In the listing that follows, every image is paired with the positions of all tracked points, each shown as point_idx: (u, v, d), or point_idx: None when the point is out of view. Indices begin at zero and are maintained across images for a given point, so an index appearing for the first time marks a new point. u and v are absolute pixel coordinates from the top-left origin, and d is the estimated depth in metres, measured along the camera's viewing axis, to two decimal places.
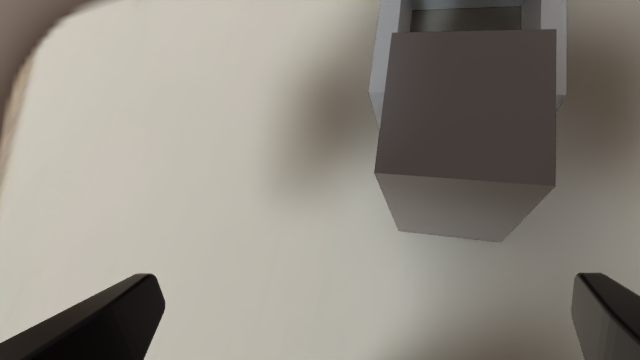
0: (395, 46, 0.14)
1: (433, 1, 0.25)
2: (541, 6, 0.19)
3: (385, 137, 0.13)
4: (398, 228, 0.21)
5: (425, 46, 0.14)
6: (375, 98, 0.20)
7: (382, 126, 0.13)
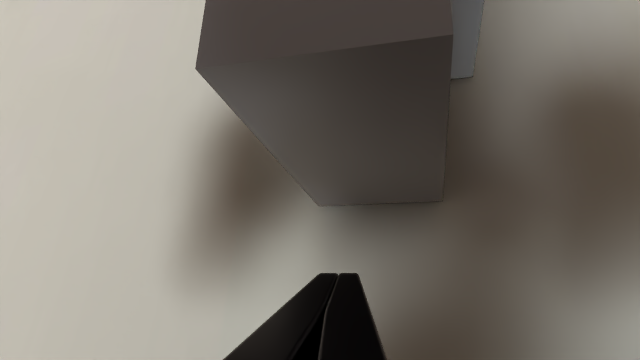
0: None
1: None
2: None
3: (211, 19, 0.09)
4: (314, 201, 0.17)
5: None
6: None
7: (207, 6, 0.09)
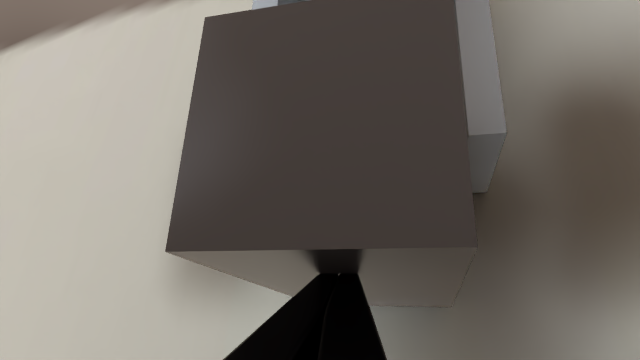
0: (209, 37, 0.09)
1: None
2: (457, 14, 0.13)
3: (187, 185, 0.08)
4: None
5: (253, 30, 0.08)
6: None
7: (182, 167, 0.08)
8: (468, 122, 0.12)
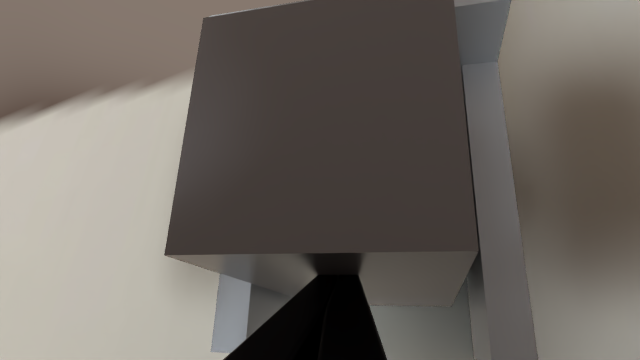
0: (208, 37, 0.09)
1: None
2: (475, 189, 0.11)
3: (186, 188, 0.07)
4: None
5: (251, 31, 0.08)
6: None
7: (181, 169, 0.08)
8: (491, 345, 0.10)
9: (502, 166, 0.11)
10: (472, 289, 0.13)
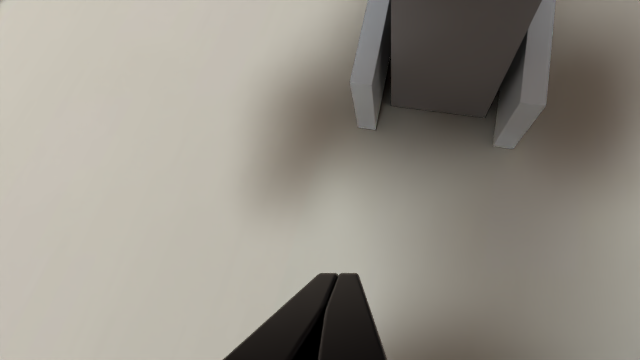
0: None
1: None
2: None
3: None
4: (391, 99, 0.23)
5: None
6: (356, 90, 0.19)
7: None
8: (521, 93, 0.18)
9: (549, 3, 0.18)
10: (505, 94, 0.21)
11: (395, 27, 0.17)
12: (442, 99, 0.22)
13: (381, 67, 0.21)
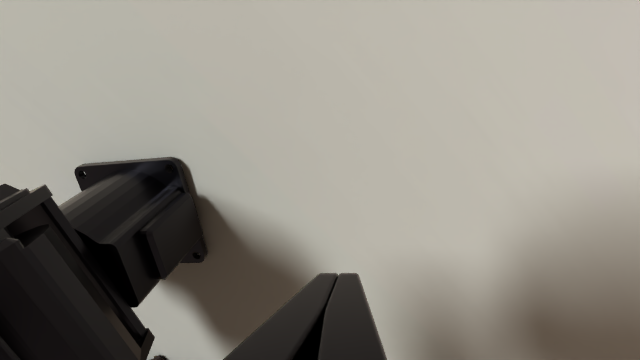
0: None
1: None
2: None
3: None
4: None
5: None
6: None
7: None
8: None
9: None
10: None
11: None
12: None
13: None
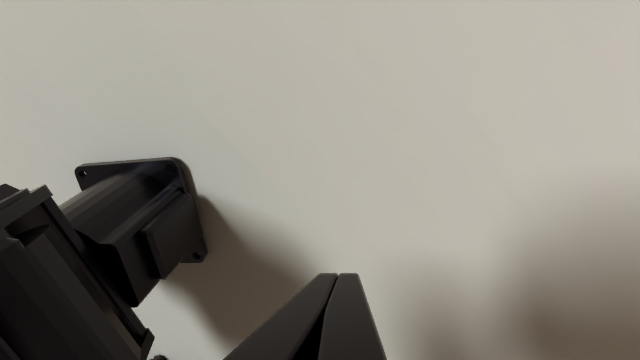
0: None
1: None
2: None
3: None
4: None
5: None
6: None
7: None
8: None
9: None
10: None
11: None
12: None
13: None
